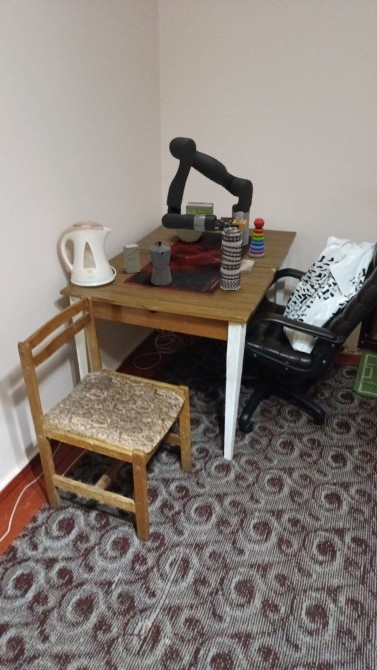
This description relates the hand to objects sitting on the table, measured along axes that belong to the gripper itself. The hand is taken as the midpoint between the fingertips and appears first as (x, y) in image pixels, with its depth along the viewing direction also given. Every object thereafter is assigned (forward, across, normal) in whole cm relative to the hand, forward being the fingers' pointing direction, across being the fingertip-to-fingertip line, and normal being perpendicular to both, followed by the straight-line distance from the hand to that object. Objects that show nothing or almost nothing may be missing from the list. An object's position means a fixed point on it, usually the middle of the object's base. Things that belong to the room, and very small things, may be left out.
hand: (240, 225), depth 203 cm
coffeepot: (-30, -24, +20) cm, 44 cm away
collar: (-1, 0, +2) cm, 2 cm away
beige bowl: (-34, +35, +20) cm, 53 cm away
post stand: (-1, 0, +20) cm, 20 cm away
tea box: (-34, +57, +20) cm, 69 cm away
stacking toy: (+6, +18, +20) cm, 28 cm away
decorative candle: (+1, -24, +20) cm, 31 cm away
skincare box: (-47, -16, +20) cm, 53 cm away
